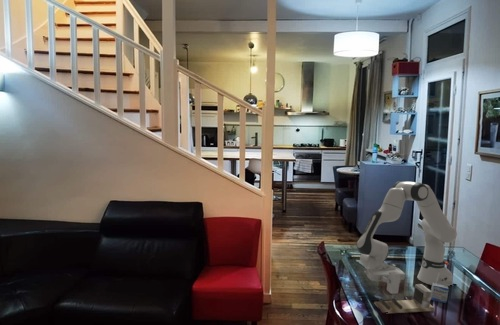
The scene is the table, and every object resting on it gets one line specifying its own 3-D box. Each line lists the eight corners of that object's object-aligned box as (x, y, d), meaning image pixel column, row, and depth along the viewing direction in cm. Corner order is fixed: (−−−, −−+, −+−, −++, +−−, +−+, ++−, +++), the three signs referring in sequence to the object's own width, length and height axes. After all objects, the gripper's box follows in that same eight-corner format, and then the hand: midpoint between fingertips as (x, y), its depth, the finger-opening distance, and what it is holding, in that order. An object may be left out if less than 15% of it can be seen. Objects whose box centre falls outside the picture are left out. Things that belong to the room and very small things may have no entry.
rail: (423, 302, 199) (426, 283, 197) (433, 310, 192) (436, 291, 190) (373, 305, 193) (376, 285, 191) (382, 313, 185) (385, 293, 183)
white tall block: (393, 289, 191) (396, 271, 190) (398, 293, 187) (401, 275, 186) (386, 289, 190) (389, 271, 189) (391, 293, 186) (393, 275, 185)
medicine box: (430, 300, 203) (433, 285, 202) (429, 296, 207) (432, 282, 206) (446, 303, 200) (449, 289, 199) (445, 299, 204) (447, 285, 203)
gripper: (363, 264, 198) (377, 276, 185) (396, 264, 203) (412, 275, 189) (361, 275, 199) (375, 288, 186) (394, 274, 204) (410, 287, 190)
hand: (394, 282), depth 188 cm, fingers closed on white tall block, 4 cm apart
